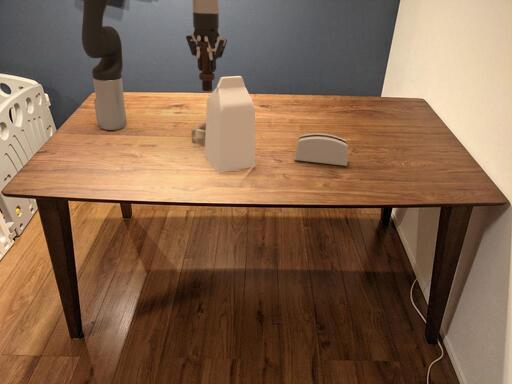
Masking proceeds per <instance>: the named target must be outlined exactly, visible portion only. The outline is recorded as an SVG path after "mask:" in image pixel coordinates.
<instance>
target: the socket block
mask: <svg viewBox="0 0 512 384" xmlns="http://www.w3.org/2000/svg"><path fill="white" fill-rule="evenodd" d="M205 136H206V121H205V122H203V123H201V124H199V125H197V126H195V127H194V128H191V143H192V144H195V145H199V146H203V147H205Z"/></svg>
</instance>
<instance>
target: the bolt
mask: <svg viewBox="0 0 512 384" xmlns="http://www.w3.org/2000/svg"><path fill="white" fill-rule="evenodd" d="M196 44H197V47H201V56H202V59H201V60H202V61H201V63H202V71H200V73H199V75H198V76H199V77H198V79H199V80H200V81H201V86H202V88H201V90H202V91H203V92H213V81H214V79H215V72H212V73H211V72H209V60H210V58H209V53H208V52H207V48H209V46H208V42H203V41H201V42H200V41H198V42H197V41H196ZM210 45H211V43H210ZM214 47H215V46H214V45H211V49H212V48H214Z"/></svg>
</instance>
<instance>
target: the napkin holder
mask: <svg viewBox="0 0 512 384" xmlns="http://www.w3.org/2000/svg"><path fill="white" fill-rule="evenodd" d="M348 153H349V143H348V141H347V140H346V139H345V138H342V137H339V136H337V135H333V134H329V133H319V132H318V133H317V132H316V133H305V134H302V135H300V137H299V138H298V140H297V145H296V148H295V151H294V157H293V159H294V161H300V162H301V161H302V162H309V163H310V162H311V163H318V164H319V163H320V164H327V165H335V166H344V167H347V166H348V159H349V157H348Z"/></svg>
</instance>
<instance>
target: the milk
mask: <svg viewBox="0 0 512 384" xmlns="http://www.w3.org/2000/svg"><path fill="white" fill-rule="evenodd" d="M205 118H206V119H205V122H206V136H205V146H204V159H205V160H206V161H207V162H208V163H209V164H210V165H211V167H212V168H214V169H215V170H216V172H217V173H218V174H221V173H226V172H231V171H232V172H233V171H236V170H243V169H244V170H245V169H249V168H255V167H256V108H255V104H254V101H253V99H252V97H251V96H250V94H249V91H248V90H247V88H246V85H245V82H244V79H243V76H241V75H234V76H233V75H232V76H220V79H219V80H218V83H217V85H216V87H215V89H214V90H212V91H211V94H210V95H209V96H208V98H207V101H206V115H205Z"/></svg>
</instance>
